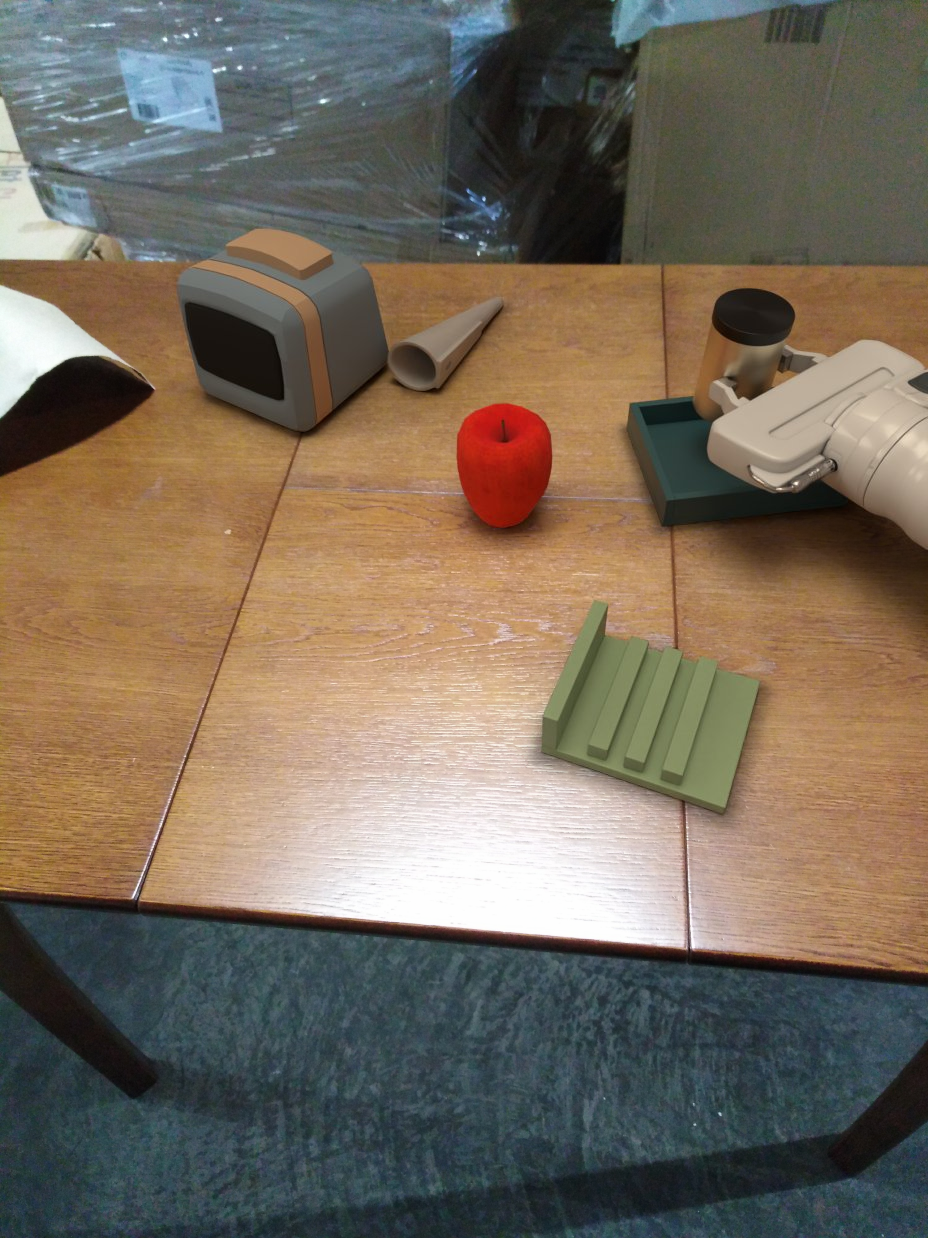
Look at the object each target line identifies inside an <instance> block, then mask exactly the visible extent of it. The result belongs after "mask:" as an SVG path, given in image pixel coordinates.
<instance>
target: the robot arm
mask: <svg viewBox="0 0 928 1238" xmlns="http://www.w3.org/2000/svg"><path fill="white" fill-rule="evenodd" d="M777 372H779V373H781V374H784V373H786V372H792V373H795V374H796V375H795V376H793V377H791V378H789V379H787V380H785V381H783V382H781V383H780V384H778V385H776V386H773V387H774V388H773V389H771V390H769V391H767V392H765V393H764V394H762V395H760V396H758V397H756V398H755V399H753V400H751V401H750V400H748V399H746V398H745V397H742V398H740V399H738V398H737V397H736V395H735V393H734V392H735V391H736V387H737V383H736V382H734V381H732V380H729V379H728V377H726V376H723V377H721V378H719V379H717V380H715V381H713V382H712V383H711V384H710V387H709V392H708V395H709V398H710V399H711V400H713V401H714V402H716V403H717V404H719V405H720V406H721V408H722V410H723V413H724V416H722V417H720V418H718V419H717V420H715V421H714V422H713V424H712V426H711V430H710V434H709V439H708V444H707V453H708V457H709V459H710V461H711V462H713V463H714V464H715V465H717V466H718V467H720V468H722V469H723V470H725V471H727V472H728V473H730V474H732V475H734V476H736V477H738V478H739V479H741V480H743V481H745V482H747V483H749V484H751V485H754V486H756V487H758V488H761V489H764V490H767V491H769V492H771V493H778V492H781V493H785V492H790V491H791V492H792V493H798V492H800V491H802V490H804V489H806V488H807V487H808V486H809V485H810V484H811V483H813V482H815V481H818V480H820V479H821V480H822V481H823V482H824V483H826V484H827V485H829V486H830V487H832V488H833V489H835V490H836V491H838V492H839V493H841V494H843V495H844V496H846V497H847V498H849V499H848V500H850V501H852V502H853V503H855V504H856V505H857V506H859V507H861V508H862V509H864V510H866V512H868V513H870V514H872V515H875V516H877V517H878V516H879V517H881V518H885V519H887V520H889V521H891V522H893V523H895V524H896V525H897V526H898V527H899V528H900V529H901V530H902V531H903V532H904V533H905V535H906V536H907V537H908V538H909V539H910V540H911V541H913V542H914V543H915V544H917V545H918V546H920V547H922V549H924V550H926V551H928V368H927V369H926V367H925V366H924V365H923V363H922V362H921V361H919V360H918V359H916V358H915V357H913V356H911V355H910V354H907V353H905V351H902V350H900V349H898V348H896V347H894V346H891V345H889V344H887V343H886V342H883V341H881V340H877V339H876V340H874V339H859V340H858V341H856V342H854V343H853V344H852V343H851V344H850V345H849V346H847V347H845V348H844V349H841V350H840V351H838V352H836V353H834V354H833V355H831V356H829V357H828V356H827V355H826V354H825V355H824V353H821V352H813V351H805V350H797V349H795V348H793V347H791V346H790V345H787V343H786V344H785V347H784V350H783V353H782V356H781V359H780V362H779V365H778V369H777Z"/></svg>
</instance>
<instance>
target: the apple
mask: <svg viewBox="0 0 928 1238" xmlns="http://www.w3.org/2000/svg"><path fill="white" fill-rule="evenodd" d="M461 423H462V424H461V426H460V428H459V430H458V433H457V434H456V466H457V468H456V469H457V474H458V478H459V482H460V487H461V489H462V492H463V495H464V497H465V498H466V500H467V502H468V503H469V505H470V507H471V509H472V510H473V511H474V513H475V514H476V515H477V516H478V517H479V519H480V520H481V521H482V522H484V523H485V524H487V525H488V526H490V527H492V528H493V527H494V528H500V529H501V528H502V529H505V528H509V527H515V526H517V525H519V524H520V523H522V522H523V521H524V520H526V519H527V518H528V517H529V515H531V513H532V511H533V510H534V509H535V507H536V506H537V504H538V503H539V502H540V500H541V499H542V498H543V496H544V495H545V493H546V490H547V488H548V487H549V484H550V479H551V474H552V469H553V445H552V442H553V441H552V434H551V430H550V429H549V427H548V424H547V422H546V421H545V420H544V419H543V418H542V417H541V416H540V415H539V414H538V413H536V412H534V411H531V410H529V409H528V408H526V407H524V406H522V405H517V404H513V403H509V402H502V403H492V404H489V405H487V406H483V407H482V408H478V409H476V410H474V411H473V412H471V413H470V414H469V415H467V416H466V417H465V418H464V419H463V421H462V422H461Z"/></svg>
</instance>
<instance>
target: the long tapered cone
mask: <svg viewBox="0 0 928 1238" xmlns="http://www.w3.org/2000/svg"><path fill="white" fill-rule="evenodd" d="M503 304H504V298H503V297H501V296H495V297H492V298H489V299H488V300H485V301H482V302H481V303H479V304H476V305H475V306H472V307H470V308H468V309H465V310H464V311H462V312H460V313H457V314H455V315H453V316H451V317H449V318H447V319H445V320H443V321H441V322H439V323H436V324H434V325H432V326H430V327H428V328H426V329H424V330H421V331H419V332H417V333H415V334H413V335H410V336H409V337H406V338H404V339H402V340H399V341H398V342H396V343H394V344H393V345H391V347H390V349H388V350H389V352H388V357H387V360H388V361H387V365H388V368H389V370H390V373H391V374H392V376H393V378H395V379H396V380H397V381H398V382H399V383H400V384H401V385H403V386H404V387H406V388H407V389H410V390H413V391H417V392H423V391H424V392H425V391H429V390H431V389H434V388H435V389H440V388H441V387H442V385H443V384H444V383H445V381H446V380H447V379H448V378H449V376H451V373H453V372H454V370H455V369H456V368H457V366H458V365H459V364H460V363H461V361H462V360H463V358H464V357H465V356H466V355H467V354H468V352H469V351H470V350H471V349H472V347H473V346H474V345H475V344H476V342H477V341H478V339H479V338H481V336H482V331H483V330H484V329H485V328H486V326H487V325H488V324H489V322H490V321H491V320H492V319H493V318H494V316H495V315H496V314H497V313H498V312H500V310H501V308H502V307H503Z"/></svg>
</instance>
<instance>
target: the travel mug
mask: <svg viewBox="0 0 928 1238" xmlns="http://www.w3.org/2000/svg"><path fill="white" fill-rule="evenodd" d="M712 309H713V310H712V314H711V323H710V327H709V331H708V335H707V340H706V344H705V347H704V352H703V356H702V360H701V364H700V369H699V371H698V376H697V380H696V385H695V388H694V392H693V395H692V396H693V406H694V408H695V410H696V412H697V413H698V414H699V415H700V416H701V417H702V418H703V419H705V420H706V421H708V422H710V423H712V424H713V422H714V421H715V420H717V419H718V418H720V417H722V416H724V413H723V410H722V408H721V406H720V405H719V404H717V403H716V402H714V401H713V400H711V399H710V398H709V395H708V392H709V387H710V384H711V383H712V382H713V381H715V380H717V379H719V378H721V377H723V376H726V377H728V379H729V380H732V381H734V382H736V383H737V387H736V391H735V392H734V393H735V395H736V397H737V398H738V399H740V398H742V397H745V398H746V399H748V400H750V401H751V400H753V399H755V398H756V397H758V396H760V395H762V394H764V393H765V392H767V391H769V390H771V387H773V383H774V380H775V378H776V375H777V372H778V371H777V369H778V365H779V362H780V359H781V356H782V353H783V350H784V347H785V344H786V345H787V341H788V338H789V335H790V334H791V332H792V330H793V326H794V324H795V320H796V311H795V309H794V307H793V305H792V304H791V303H790V302H789V301H788V300H787V299H785V298H784V297H783V296H781V295H779V294H777V293H775V292H773V291H769V290H766V289H763V288H755V287H754V288H753V287H742V288H735V289H731V290H728V291H726V292H724V293H722V294H721V295H720V296H718V298H717V299H716V300H715V302H714V306H713V308H712Z"/></svg>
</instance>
